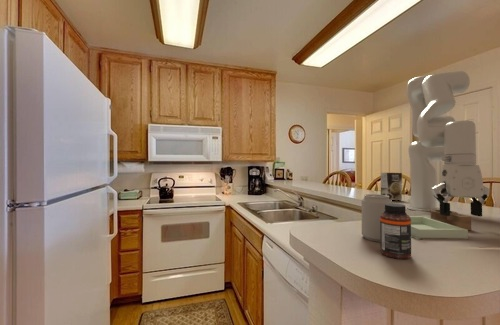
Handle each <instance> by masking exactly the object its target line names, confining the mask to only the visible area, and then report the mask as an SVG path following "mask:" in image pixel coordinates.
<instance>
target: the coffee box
mask: <svg viewBox="0 0 500 325" xmlns="http://www.w3.org/2000/svg"><path fill="white" fill-rule="evenodd" d="M402 178H403V172H381V173H380V195H387V196H389V199H390V200H402V198H403V192H402V190H403V187H402V186H403V184H402V183H403V181H402V180H403V179H402ZM402 201H403V200H402Z"/></svg>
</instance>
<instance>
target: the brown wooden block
mask: <svg viewBox="0 0 500 325" xmlns="http://www.w3.org/2000/svg"><path fill="white" fill-rule="evenodd" d="M430 219H433V220H437V221H440V222H443V223H447V224H450V225H453V226H457V227H460V228H463V229H467V230H468V231H472V228H471V227H472V216H469V215H466V214H460V213H459V212H457V211H452V210H450V216H445V215H441V214H440V210H431V211H430Z"/></svg>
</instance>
